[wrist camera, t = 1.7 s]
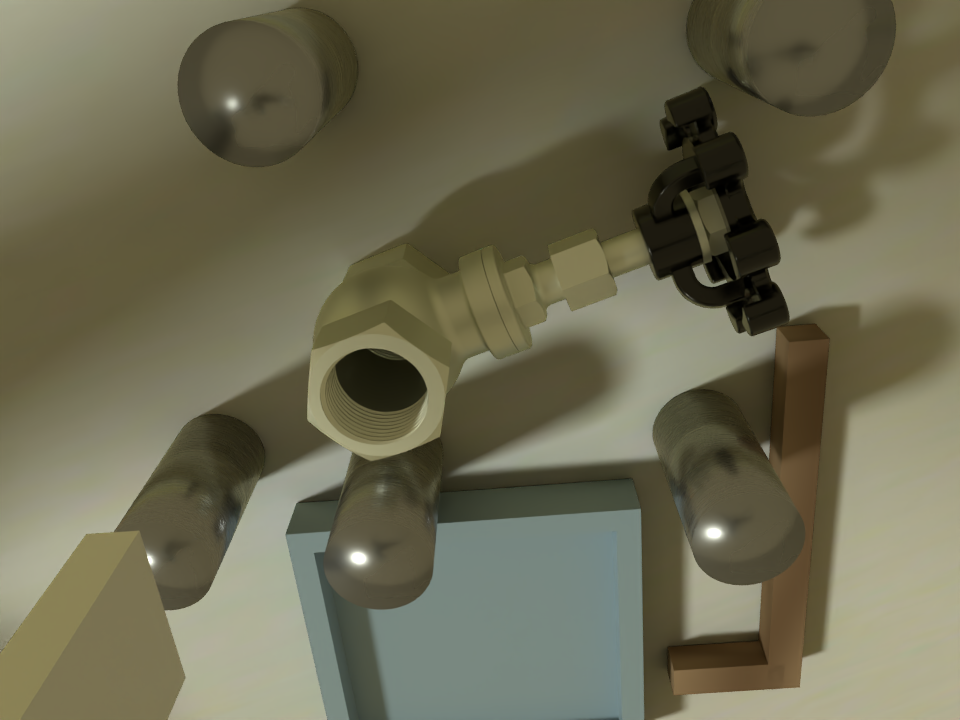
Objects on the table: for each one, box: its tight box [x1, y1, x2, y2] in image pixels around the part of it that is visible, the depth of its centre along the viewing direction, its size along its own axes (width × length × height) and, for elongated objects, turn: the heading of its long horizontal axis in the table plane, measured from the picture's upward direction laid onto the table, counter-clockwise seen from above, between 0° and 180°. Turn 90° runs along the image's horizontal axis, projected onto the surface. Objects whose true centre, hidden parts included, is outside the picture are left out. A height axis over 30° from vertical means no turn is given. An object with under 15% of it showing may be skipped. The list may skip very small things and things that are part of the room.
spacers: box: [114, 0, 896, 610], centre depth 23 cm, size 20×16×6 cm
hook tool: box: [668, 324, 830, 695], centre depth 29 cm, size 5×14×1 cm, turn 5°
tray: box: [286, 479, 644, 720], centre depth 31 cm, size 12×12×2 cm
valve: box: [307, 87, 790, 461], centre depth 23 cm, size 7×7×12 cm
